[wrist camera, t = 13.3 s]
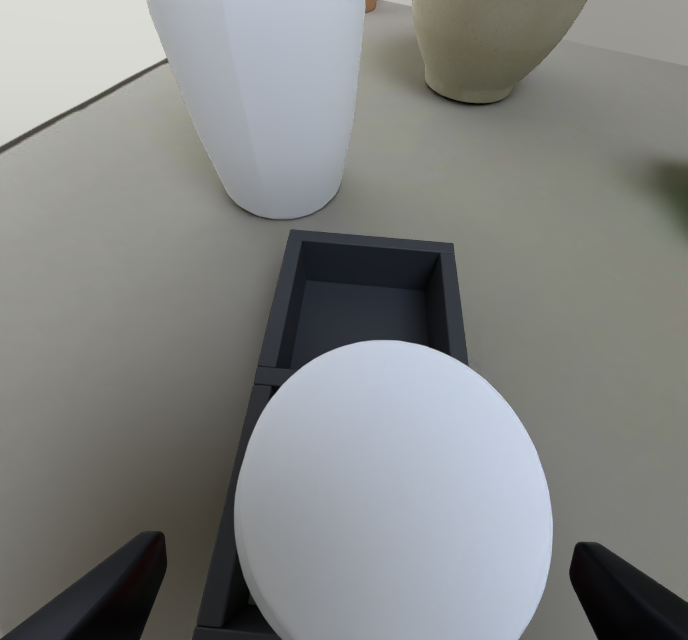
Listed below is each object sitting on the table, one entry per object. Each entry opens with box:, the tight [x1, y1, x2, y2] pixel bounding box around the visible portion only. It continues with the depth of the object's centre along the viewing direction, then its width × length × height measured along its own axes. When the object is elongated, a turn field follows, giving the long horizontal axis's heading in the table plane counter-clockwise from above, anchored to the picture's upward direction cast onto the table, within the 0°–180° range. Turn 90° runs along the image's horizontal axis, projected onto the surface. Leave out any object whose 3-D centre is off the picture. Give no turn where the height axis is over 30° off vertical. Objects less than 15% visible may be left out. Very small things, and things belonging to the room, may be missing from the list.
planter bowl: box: [412, 0, 587, 103], centre depth 33 cm, size 16×16×11 cm
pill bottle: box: [234, 340, 553, 640], centre depth 10 cm, size 6×6×11 cm
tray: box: [192, 229, 469, 640], centre depth 16 cm, size 17×9×4 cm, turn 175°
